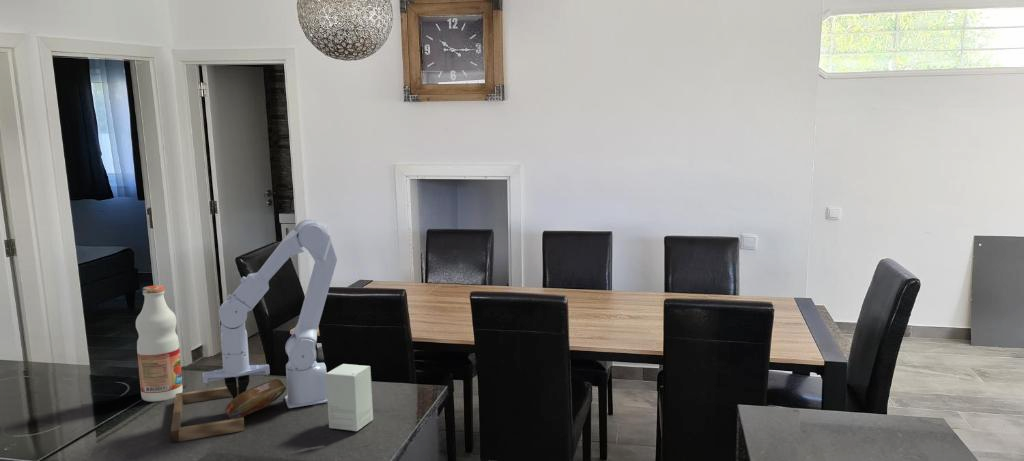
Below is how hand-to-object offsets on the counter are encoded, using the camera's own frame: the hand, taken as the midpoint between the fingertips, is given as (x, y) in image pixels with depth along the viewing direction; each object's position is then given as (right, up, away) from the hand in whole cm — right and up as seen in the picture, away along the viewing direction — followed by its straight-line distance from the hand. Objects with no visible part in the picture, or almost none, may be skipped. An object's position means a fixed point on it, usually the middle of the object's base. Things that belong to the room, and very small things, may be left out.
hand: (239, 407), depth 164 cm
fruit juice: (-24, 0, +12) cm, 27 cm away
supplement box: (+28, -2, -8) cm, 30 cm away
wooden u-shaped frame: (-6, -1, -2) cm, 6 cm away
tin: (+2, 0, -1) cm, 2 cm away
